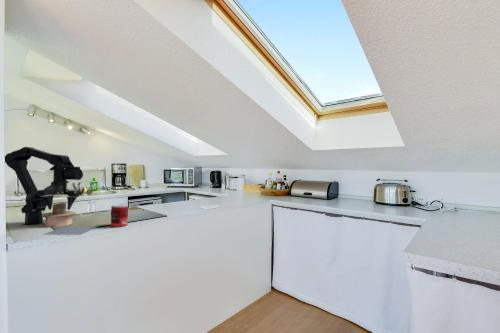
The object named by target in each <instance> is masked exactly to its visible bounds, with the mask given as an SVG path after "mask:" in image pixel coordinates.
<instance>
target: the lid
mask: <svg viewBox="0 0 500 333" xmlns="http://www.w3.org/2000/svg"><path fill="white" fill-rule="evenodd" d="M51 210H52V211H51V212H46V213H42V217H43V219H44V218H45V219H46V218H59V217H68V216H72V217H73V216H75V215H76V212H77V211H70V210H67V203H66V202H59V203H53V204H52V209H51Z"/></svg>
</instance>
